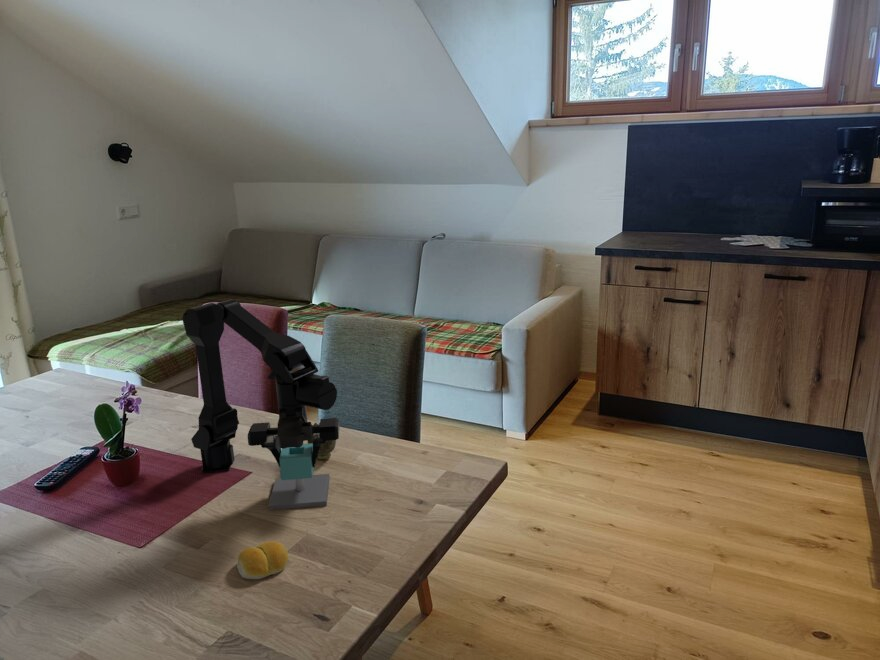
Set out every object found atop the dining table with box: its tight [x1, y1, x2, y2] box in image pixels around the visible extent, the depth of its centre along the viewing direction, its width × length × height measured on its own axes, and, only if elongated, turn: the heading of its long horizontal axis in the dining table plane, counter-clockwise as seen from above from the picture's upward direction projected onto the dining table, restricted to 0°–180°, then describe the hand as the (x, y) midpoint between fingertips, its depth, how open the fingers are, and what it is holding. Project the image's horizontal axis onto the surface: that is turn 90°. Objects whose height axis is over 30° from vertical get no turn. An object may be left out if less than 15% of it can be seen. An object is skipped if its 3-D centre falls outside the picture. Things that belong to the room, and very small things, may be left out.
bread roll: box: [236, 541, 289, 580], centre depth 119 cm, size 8×9×4 cm
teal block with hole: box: [279, 443, 315, 480], centre depth 141 cm, size 6×6×5 cm
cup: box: [306, 422, 337, 462], centre depth 158 cm, size 8×7×8 cm
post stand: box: [268, 473, 330, 511], centre depth 142 cm, size 12×12×7 cm
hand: (297, 467), depth 142 cm, fingers closed on teal block with hole, 6 cm apart
